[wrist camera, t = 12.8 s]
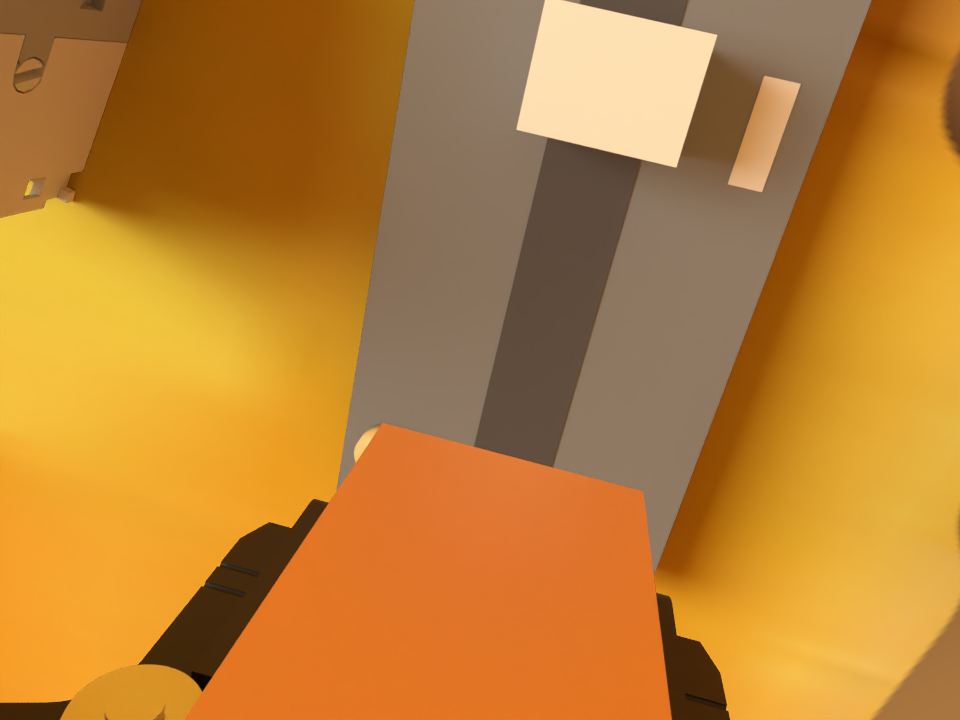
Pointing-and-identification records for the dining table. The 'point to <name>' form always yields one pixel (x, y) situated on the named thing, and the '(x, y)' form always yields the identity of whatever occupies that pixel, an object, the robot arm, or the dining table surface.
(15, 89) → the circuit breaker
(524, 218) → the breaker panel
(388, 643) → the cap
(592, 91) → the switch
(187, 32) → the dining table surface
